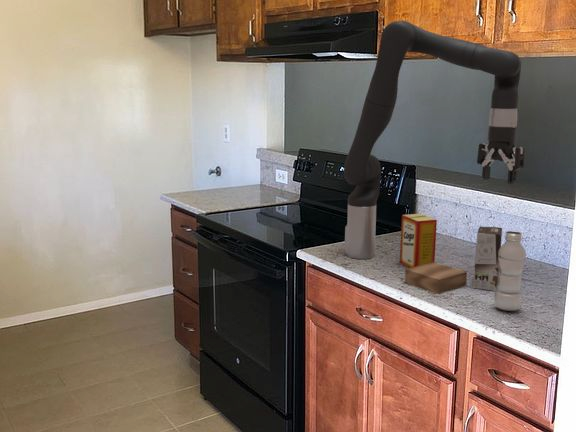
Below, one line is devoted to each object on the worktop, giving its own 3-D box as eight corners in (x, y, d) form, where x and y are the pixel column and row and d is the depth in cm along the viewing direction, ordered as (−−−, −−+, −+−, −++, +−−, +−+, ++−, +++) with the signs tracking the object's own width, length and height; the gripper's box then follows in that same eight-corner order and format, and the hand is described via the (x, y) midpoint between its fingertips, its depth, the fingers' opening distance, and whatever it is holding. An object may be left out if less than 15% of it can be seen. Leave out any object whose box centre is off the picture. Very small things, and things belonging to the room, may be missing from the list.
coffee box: (496, 291, 170) (501, 234, 167) (472, 288, 172) (476, 232, 169) (498, 281, 178) (503, 227, 175) (475, 279, 181) (479, 225, 177)
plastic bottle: (498, 302, 161) (504, 228, 157) (524, 309, 157) (531, 232, 153) (489, 309, 156) (495, 233, 152) (515, 316, 152) (522, 237, 148)
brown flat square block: (405, 282, 177) (405, 269, 176) (432, 274, 184) (433, 262, 183) (438, 293, 168) (438, 279, 167) (465, 285, 175) (466, 271, 174)
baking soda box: (433, 269, 190) (436, 218, 186) (415, 271, 188) (417, 220, 184) (417, 261, 198) (420, 212, 195) (399, 262, 196) (401, 213, 193)
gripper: (473, 123, 178) (470, 179, 182) (515, 126, 167) (511, 186, 170) (490, 122, 182) (486, 177, 186) (533, 125, 171) (528, 183, 174)
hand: (498, 181), depth 178 cm, fingers open, 8 cm apart
